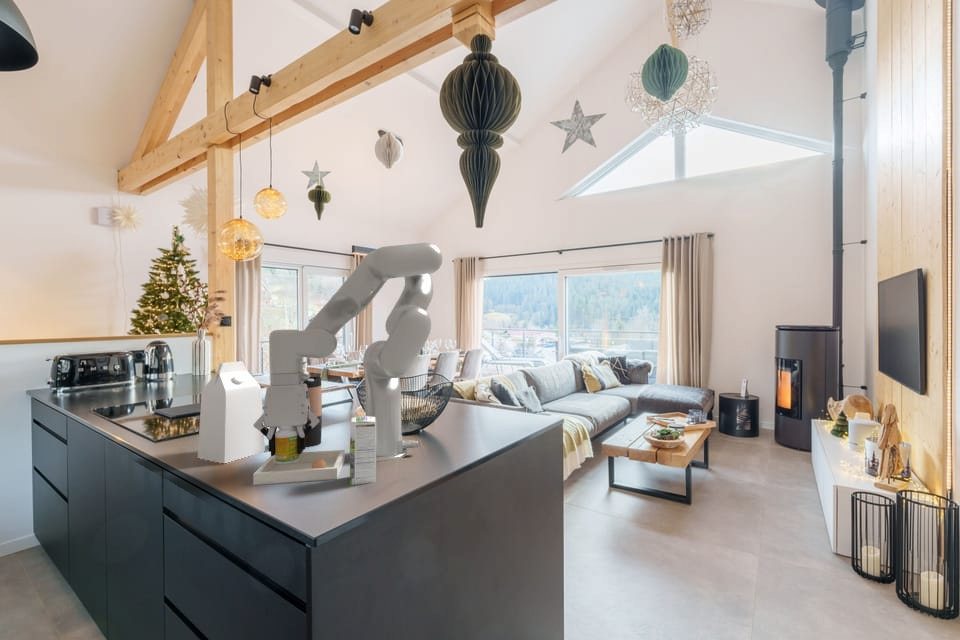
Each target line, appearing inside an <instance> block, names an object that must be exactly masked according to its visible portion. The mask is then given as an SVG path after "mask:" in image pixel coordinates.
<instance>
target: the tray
mask: <svg viewBox="0 0 960 640" xmlns="http://www.w3.org/2000/svg"><path fill="white" fill-rule="evenodd" d="M316 459H323V460H324V461H325V463H326V467H325V468H314V469H312V463H313V462H314V461H315V460H316ZM345 461H346V449H336V450H335V449H334V450H319V451H318V450H317V451H305V452H304V451H303V452H302V453H301V454H299V460H298V461H296V462H294V463H290V464H277V463H276V462H275V455H274V456H271V455H270V456H269V458H267V459H266V460H265V461H264V462H263V463H262V465H260V467H259V468H258V469H257V470H256V471H255V472H254V473H253V475H252V476H253V477H252V479H253V482H252V484H253V486H258V485H271V484H272V485H273V484H284V483H285V484H286V483H287V484H288V483H300V482H312V481H326V480H329V481H330V480H337V479H338V478H339V475H340V473H341V470H342V468H343V465H344V463H345Z"/></svg>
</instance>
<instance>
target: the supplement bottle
mask: <svg viewBox="0 0 960 640" xmlns="http://www.w3.org/2000/svg"><path fill="white" fill-rule="evenodd" d="M295 427H296V426H293V427H291V426H286V425H284V426H281V427H277V430H276V433H275V462H276V463H277V464H290V463H294V462H296V461H298V460H299V454H298V453H297V439H298V437H299V433H298V431H297V429H295Z"/></svg>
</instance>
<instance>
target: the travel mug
mask: <svg viewBox="0 0 960 640" xmlns="http://www.w3.org/2000/svg"><path fill="white" fill-rule="evenodd" d="M303 384H307V388H308V393H309V402H310V411H311V412H312V413H313V414H314V415H315V416H316V417H317V418H318V419H319V423H318V424H317V425H316V426H315V427H314V428H312V429H311V430H310V431H309V432H308V433H307V434H306V435H305V448H311V447H315V446H319V445H320V444H321V443H322V425H323V424H322V423H323V410H322V409H323V408H322V406H323V405H322V404H323V403H322V401H323V399H322V395H323V394H322V377H320V376H309V380H304V382H303ZM310 423H311V420H309V421H307V423H306V424H305V428H306V427H307V426H308V425H309V424H310ZM295 429H297V428H296V427H295Z"/></svg>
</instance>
